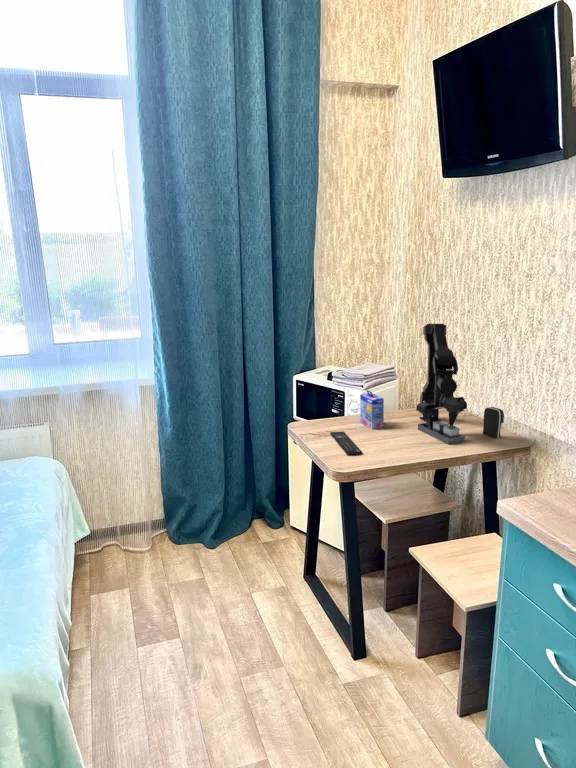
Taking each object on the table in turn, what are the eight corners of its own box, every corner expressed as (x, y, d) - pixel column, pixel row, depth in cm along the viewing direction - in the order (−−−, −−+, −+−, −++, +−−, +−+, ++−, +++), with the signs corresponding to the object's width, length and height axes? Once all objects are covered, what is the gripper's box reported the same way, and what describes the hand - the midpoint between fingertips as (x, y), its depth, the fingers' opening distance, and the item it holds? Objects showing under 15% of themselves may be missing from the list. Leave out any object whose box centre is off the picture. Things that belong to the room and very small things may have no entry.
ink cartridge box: (359, 422, 234) (359, 388, 231) (370, 421, 236) (371, 387, 233) (371, 429, 225) (372, 393, 222) (383, 427, 227) (384, 392, 224)
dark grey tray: (417, 431, 222) (418, 424, 222) (432, 429, 225) (433, 421, 224) (448, 446, 205) (448, 438, 204) (464, 444, 208) (464, 436, 207)
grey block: (432, 434, 216) (433, 421, 215) (441, 433, 217) (442, 420, 216) (439, 437, 212) (439, 424, 211) (448, 436, 214) (448, 423, 213)
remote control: (343, 434, 221) (343, 431, 221) (362, 456, 198) (362, 452, 198) (330, 435, 220) (330, 432, 220) (347, 457, 197) (347, 453, 197)
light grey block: (442, 439, 210) (443, 426, 209) (451, 438, 212) (452, 425, 211) (449, 442, 207) (450, 429, 206) (458, 441, 208) (459, 428, 207)
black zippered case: (503, 439, 213) (506, 409, 210) (496, 440, 211) (498, 410, 208) (488, 434, 218) (491, 405, 216) (481, 435, 217) (483, 406, 214)
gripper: (434, 395, 200) (432, 437, 204) (478, 389, 207) (475, 431, 210) (416, 388, 210) (414, 429, 214) (458, 383, 217) (456, 423, 220)
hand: (440, 428), depth 214 cm, fingers open, 9 cm apart
